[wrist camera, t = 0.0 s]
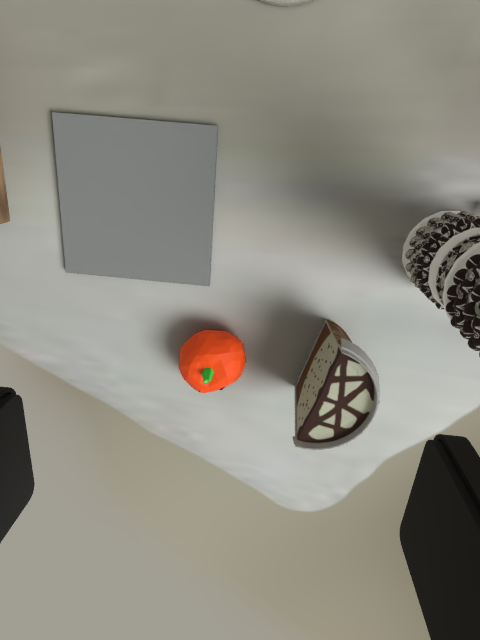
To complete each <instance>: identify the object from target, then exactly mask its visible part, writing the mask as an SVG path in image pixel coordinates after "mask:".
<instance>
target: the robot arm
mask: <svg viewBox="0 0 480 640" xmlns="http://www.w3.org/2000/svg"><path fill="white" fill-rule="evenodd" d="M259 1H262V2H265V3H267V4H270V5H275V6H283V7H288V6H298V5H302V4H305V3H308V2H311V1H313V0H259ZM33 490H34V478H33V470H32V464H31V458H30V450H29V444H28V436H27V430H26V423H25V417H24V409H23V403H22V398H21V397H20V396H19V395H16V392H15V391H14V389H12V388H8V387H0V543H1V541H2V540H3V538H4V537H5V535H6V534H7V532H8V531H9V529H10V528H11V526H12V525H13V524H14V522H15V521H16V519H17V518H18V516H19V515H20V513H21V512H22V510H23V509H24V507H25V506H26V505H27V503H28V502H29V500H30V498H31V496H32V494H33ZM400 541H401V545H402V548H403V552H404V555H405V558H406V561H407V565H408V568H409V571H410V574H411V577H412V581H413V584H414V587H415V590H416V593H417V596H418V599H419V603H420V606H421V609H422V612H423V615H424V619H425V622H426V625H427V628H428V632H429V635H430V638H431V640H480V457H479V455H478V454H477V452H476V451H475V449H474V448H473V446H472V445H471V443H470V442H469V440H468V439H467V438H465V437H461V436H451V435H442V434H438V435H436V436H435V438H434V440H428V441H427V442H426V444H425V447H424V451H423V454H422V457H421V461H420V464H419V467H418V470H417V474H416V477H415V480H414V483H413V486H412V490H411V493H410V496H409V500H408V503H407V506H406V509H405V513H404V516H403V520H402V523H401V527H400Z"/></svg>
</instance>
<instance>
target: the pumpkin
mask: <svg viewBox="0 0 480 640" xmlns="http://www.w3.org/2000/svg"><path fill="white" fill-rule="evenodd" d="M245 363H246V357H245V352H244V345H243V343H242V342H241V341H240V340H239V339H238V337H236V336H235V335H233V334H231V333H229V332H227V331H217V330H203V331H200V332H197V333H195V334H194V335H193V336H192V337H190V338H189V339H188V340H187V341H186V342H185V343H184V344H183V345H182V347H181V349H180V357H179V369H180V372H181V374H182V376H183V378H184V380H185V381H186V382H187V383H188V384H189V385H190V386H191V387H193V388H194V389H195V390H197V391H199V392H202V393H206V392H212V391H216V390H222V389H223V388H224V387H226V386H227V385H229V384H231V383H233V382H235V381H236V380H237V379H238V378H239V377H240V376H241V375H242V372H243V369H244V366H245Z"/></svg>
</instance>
